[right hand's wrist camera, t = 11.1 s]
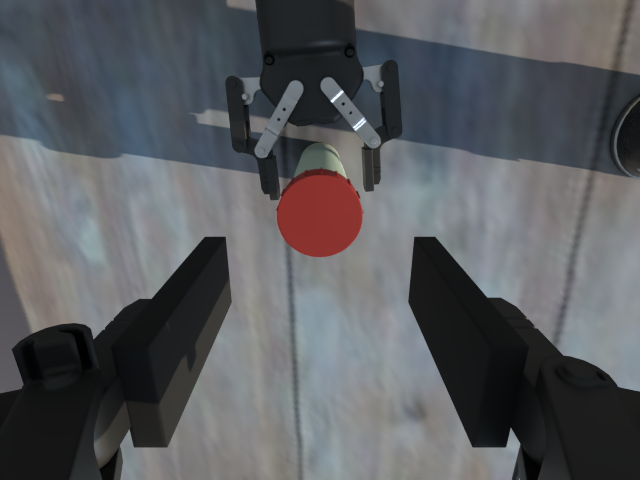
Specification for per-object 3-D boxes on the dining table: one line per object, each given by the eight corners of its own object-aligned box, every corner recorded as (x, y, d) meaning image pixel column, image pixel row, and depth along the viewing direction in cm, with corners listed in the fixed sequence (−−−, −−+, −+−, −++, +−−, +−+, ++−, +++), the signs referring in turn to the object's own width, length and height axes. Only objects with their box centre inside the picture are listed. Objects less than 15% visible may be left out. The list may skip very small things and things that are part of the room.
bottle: (342, 179, 39) (361, 244, 21) (303, 185, 40) (289, 254, 22) (337, 139, 38) (352, 172, 20) (296, 145, 38) (275, 184, 20)
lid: (364, 239, 23) (368, 252, 21) (287, 250, 23) (284, 263, 21) (355, 161, 21) (358, 167, 20) (272, 174, 22) (267, 181, 20)
